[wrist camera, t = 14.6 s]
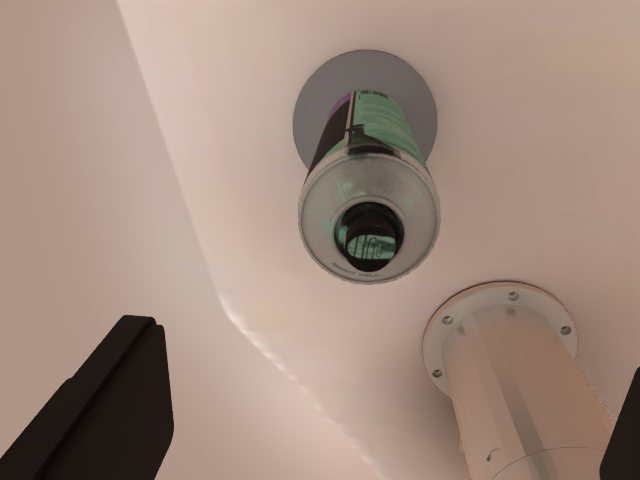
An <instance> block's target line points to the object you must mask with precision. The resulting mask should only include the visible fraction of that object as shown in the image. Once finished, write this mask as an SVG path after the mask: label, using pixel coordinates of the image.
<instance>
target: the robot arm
mask: <svg viewBox="0 0 640 480" xmlns="http://www.w3.org/2000/svg"><path fill="white" fill-rule="evenodd" d="M511 292H512V293H511ZM577 350H578V335H577V332H576V328H575V325H574V323H573V321H572V319H571V317H570V316H569V314H568V313H567V311H566V310H565V309H564V307H563V306H562V305H561V304H560V302H558V301H557V300H556V299H555V298H554V297H552V296H551V295H550V294H548V293H546V292H544V291H542V290H541V289H539V288H536V287H533V286H530V285H526V284H522V283H514V282H493V283H488V284H483V285H478V286H475V287H473V288H470V289H467V290H465V291H463V292H461V293H459V294H458V295H456V296H454V297H452V298H451V299H450V300H448V301H447V302H446V303H445V304H444V305H442V306H441V307H440V308H439V310H438V311H437V312H436V313H435V314H434V316H433V317H432V318H431V320H430V322H429V324H428V326H427V328H426V331H425V334H424V338H423V347H422V352H423V359H424V364H425V367H426V370H427V374H428V375H429V377H430V379H431V380H432V382H433V384H434V385H435V386H436V387H437V388H438V389H439V390H440V391H441V392H442V393H444V394H445V395H446V396H448V397H449V398H450V399H452V402H453V407H454V411H455V415H456V419H457V423H458V428H459V432H460V438H459V443H458V448H459V450H460V451H461V453H463V454H464V455H465V457H466V461H467V466H468V470H469V474H470V478H471V480H640V367H639V368H638V369H637V370H636V372H635V375H634V377H633V380H632V383H631V385H630V388H629V391H628V393H627V396H626V399H625V401H624V404H623V406H622V409H621V412H620V414H619V417H618V420H617V422H616V425H614V424H613V422H612V421H611V419H610V417H609V416H608V414H607V413H606V411H605V409H604V408H603V406H602V405H601V403H600V401H599V400H598V398H597V397H596V395H595V393H594V392H593V390H592V389H591V387H590V385H589V384H588V382H587V381H586V379H585V377H584V376H583V374H582V372H581V371H580V369H579V368H578V366H577V364H576V363H575V359H576V355H577ZM173 431H174V421H173V411H172V401H171V391H170V381H169V371H168V361H167V352H166V341H165V332H164V328H163V326H162V325H156V321H155V319H154V318H153V317H146V316H133V315H124V316H123V317H121V319H120V320H119V321H118V322H117V323H116V324H115V326H114V327H113V328H112V329H111V331H110V332H109V333H108V334H107V335H106V337H105V338H104V339H103V340H102V342H101V343H100V344H99V345H98V346H97V348H96V349H95V350H94V351H93V353H92V354H91V355H90V356H89V357H88V359H87V360H86V361H85V362H84V363H83V365H82V366H81V367H80V368H79V370H78V371H77V372H76V373H75V375H74V376H73V377H72V378H69V379H67V380H66V381H65V382H64V383H63V384H62V385H61V386H60V387H59V389H58V390H57V391H56V392H55V393H54V395H53V396H52V397H51V398H50V399H49V401H48V402H47V403H46V404H45V405H44V407H43V408H42V409H41V410H40V412H39V413H38V414H37V415H36V416H35V417H34V419H33V420H32V421H31V422H30V423H29V425H28V426H27V427H26V428H25V430H24V431H23V432H22V433H21V434H20V436H19V437H18V438H17V439H16V440H15V442H14V443H13V444H12V445H11V446H10V448H9V449H8V450H7V451H6V452H5V454H4V455H3V456H2V457H1V459H0V480H154V479H155V477H156V474H157V472H158V470H159V468H160V466H161V464H162V461H163V459H164V457H165V455H166V453H167V450H168V448H169V446H170V444H171V441H172V437H173Z"/></svg>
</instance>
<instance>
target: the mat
mask: <svg viewBox="0 0 640 480" xmlns="http://www.w3.org/2000/svg"><path fill="white" fill-rule="evenodd" d="M364 88H369V89H376V90H380V91H382V92H384V93H386V94H388V95H389V96H390V97H392V98H393V99H394V100H395V101H396V102H397V103H398V105H399V106H400V108H401V110H402V112H403V114H404V116H405V118H406V120H407V123H408V125H409V127H410V130H411V132H412V134H413V136H414V139H415V141H416V143H417V146H418V148H419V150H420V152H421V155H422V157H423V159H424V162H425V161H426V160H427V158H428V156H429V154H430V152H431V150H432V147H433V144H434V141H435V136H436V130H437V113H436V108H435V103H434V100H433V97H432V94H431V92H430V90H429V88H428V86H427V85H426V83H425V82H424V80H423V79H422V77H421V76H420V75H419V74H418V73H417V72H416V71H415V70H414V69H413V68H412V67H411V66H409V65H408V64H407V63H406V62H404V61H403V60H401V59H399V58H398V57H395V56H393V55H391V54H388V53H385V52H381V51H375V50H358V51H351V52H348V53H344V54H341V55H339V56H337V57H335V58H333V59H331V60H330V61H328V62H326V63H325V64H324V65H322V66H321V67H320V68H319V69H318V70H317V71H316V72H315V73H314V74H313V75H312V76H311V77H310V78H309V80H308V81H307V83H306V84H305V85H304V87H303V89H302V91H301V93H300V95H299V97H298V100H297V102H296V106H295V110H294V116H293V134H294V140H295V144H296V147H297V151H298V153H299V155H300V157H301V159H302V161H303V162H304V164H305V166H306V167H307V168H308V170H309V169H310V166H311V163H312V161H313V158H314V155H315V152H316V149H317V147H318V144H319V141H320V138H321V136H322V133H323V130H324V127H325V124H326V122H327V119H328V116H329V114H330V112H331V110H332V108H333V107H334V105H335V104H336V103H337V101H338V100H340V99H341V98H342V97H343V96H344V95H346V94H348V93H349V92H352V91H354V90H357V89H364Z"/></svg>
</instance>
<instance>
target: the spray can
mask: <svg viewBox="0 0 640 480" xmlns="http://www.w3.org/2000/svg"><path fill="white" fill-rule="evenodd" d="M298 219H299V220H298V225H299V230H300V236H301V239H302V241H303V244H304V246H305V248H306V250H307V251H308V253H309V254H310V256H311V257H312V259H313V260H314V261H315V262H316V263H317V264H318V265H319V266H320V267H321V268H322V269H324V270H325V271H327V272H328V273H329V274H331V275H333V276H335V277H337V278H339V279H341V280H344V281H348V282H351V283H355V284H366V285H372V284H382V283H386V282H390V281H393V280H396V279H398V278H401V277H403V276H405V275H407V274H408V273H410V272H411V271H413V270H414V269H415V268H417V267H418V266H419V265H420V264H421V263H422V262H423V261H424V260H425V259H426V258H427V256H428V255H429V253H430V251H431V250H432V248H433V247H434V244H435V242H436V239H437V236H438V233H439V227H440V202H439V197H438V194H437V190H436V187H435V184H434V182H433V180H432V178H431V175H430V173H429V171H428V168H427V166H426V164H425V162H424V159H423V157H422V155H421V152H420V150H419V148H418V146H417V143H416V141H415V139H414V136H413V134H412V132H411V130H410V127H409V125H408V123H407V120H406V118H405V116H404V114H403V112H402V110H401V108H400V106H399V105H398V103H397V102H396V101H395V100H394V99H393V98H392V97H390V96H389V95H388V94H386V93H384V92H382V91H380V90H376V89H369V88H364V89H357V90H354V91H352V92H349V93H348V94H346V95H344V96H343V97H342V98H341V99H340V100H338V101H337V103H336V104H335V105H334V107H333V108H332V110H331V112H330V114H329V116H328V119H327V122H326V124H325V127H324V130H323V133H322V136H321V138H320V141H319V144H318V147H317V149H316V152H315V155H314V158H313V161H312V163H311V166H310V169H309V172H308V174H307V177H306V180H305V183H304V186H303V188H302V191H301V195H300V200H299V204H298Z"/></svg>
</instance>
